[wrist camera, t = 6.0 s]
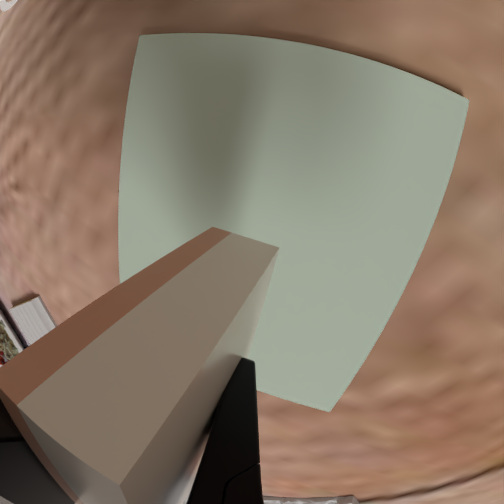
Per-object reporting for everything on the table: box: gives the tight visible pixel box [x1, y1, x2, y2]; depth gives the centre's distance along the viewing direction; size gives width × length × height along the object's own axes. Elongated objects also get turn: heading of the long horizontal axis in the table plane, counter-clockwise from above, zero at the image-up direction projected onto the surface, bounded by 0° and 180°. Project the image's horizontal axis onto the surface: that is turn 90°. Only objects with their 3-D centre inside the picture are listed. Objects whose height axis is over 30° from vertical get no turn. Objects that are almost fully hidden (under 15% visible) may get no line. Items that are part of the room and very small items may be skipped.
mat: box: [118, 33, 469, 412], centre depth 15 cm, size 16×20×1 cm
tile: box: [0, 227, 279, 504], centre depth 6 cm, size 2×7×7 cm, turn 169°
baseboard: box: [9, 296, 57, 345], centre depth 30 cm, size 31×3×12 cm
